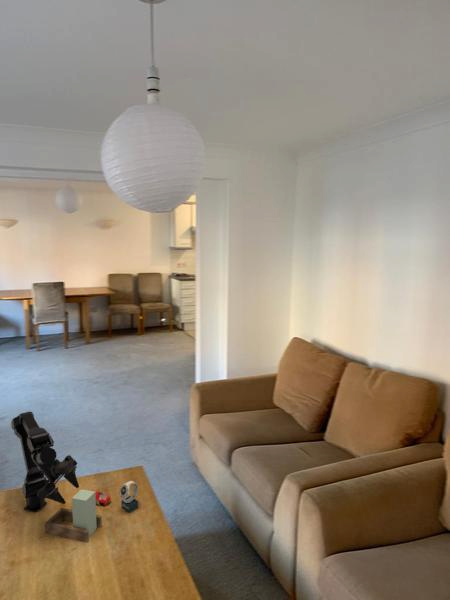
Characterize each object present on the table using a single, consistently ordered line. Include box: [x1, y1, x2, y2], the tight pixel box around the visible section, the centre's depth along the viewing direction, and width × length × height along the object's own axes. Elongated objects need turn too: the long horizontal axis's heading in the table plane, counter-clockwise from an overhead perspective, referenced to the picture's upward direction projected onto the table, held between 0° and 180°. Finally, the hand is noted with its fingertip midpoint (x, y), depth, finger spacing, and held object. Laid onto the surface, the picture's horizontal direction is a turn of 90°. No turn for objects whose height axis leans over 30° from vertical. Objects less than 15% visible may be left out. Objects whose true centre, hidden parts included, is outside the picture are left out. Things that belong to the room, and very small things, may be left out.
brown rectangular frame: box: [44, 507, 103, 543], centre depth 163 cm, size 18×10×4 cm, turn 74°
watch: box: [118, 480, 139, 513], centre depth 176 cm, size 6×8×11 cm
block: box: [71, 488, 98, 537], centre depth 161 cm, size 6×6×15 cm
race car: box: [93, 490, 112, 507], centre depth 181 cm, size 13×5×4 cm, turn 75°
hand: (71, 495), depth 164 cm, fingers open, 9 cm apart
